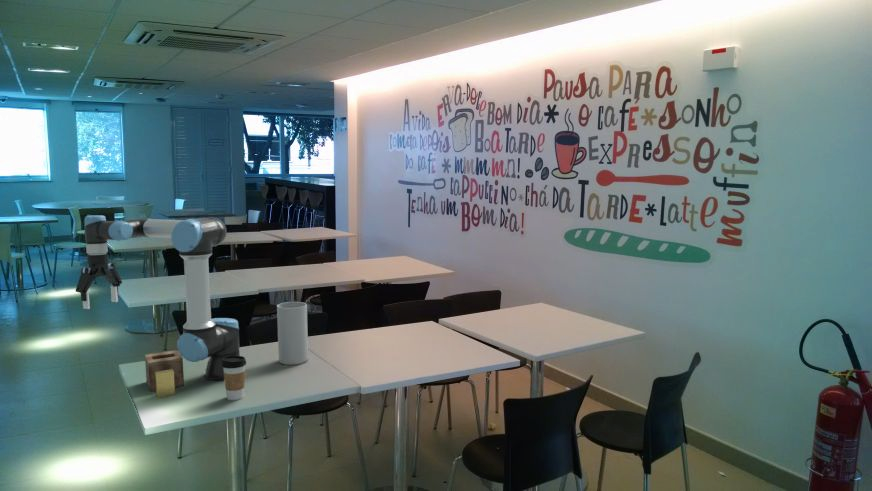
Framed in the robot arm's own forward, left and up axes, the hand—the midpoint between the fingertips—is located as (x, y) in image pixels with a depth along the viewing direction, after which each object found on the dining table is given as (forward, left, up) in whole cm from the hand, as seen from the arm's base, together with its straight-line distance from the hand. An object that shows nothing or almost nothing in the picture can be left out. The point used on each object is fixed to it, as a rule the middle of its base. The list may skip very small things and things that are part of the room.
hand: (101, 305), depth 246 cm
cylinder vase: (-66, -37, -28) cm, 81 cm away
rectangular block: (-43, +13, -28) cm, 53 cm away
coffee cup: (-69, +7, -28) cm, 75 cm away
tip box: (-34, +4, -28) cm, 44 cm away
